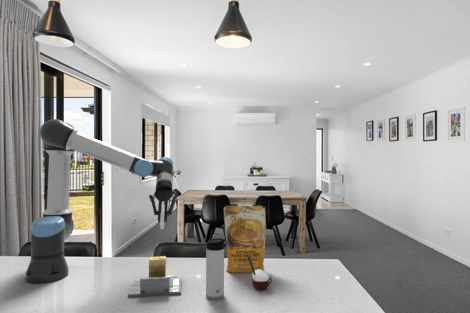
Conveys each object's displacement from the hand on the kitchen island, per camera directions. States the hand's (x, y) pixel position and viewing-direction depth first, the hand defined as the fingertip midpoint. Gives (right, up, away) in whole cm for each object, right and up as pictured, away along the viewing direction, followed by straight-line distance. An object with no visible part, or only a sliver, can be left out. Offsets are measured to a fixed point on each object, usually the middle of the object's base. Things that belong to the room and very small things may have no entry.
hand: (162, 227), depth 132 cm
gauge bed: (+1, -19, -14) cm, 24 cm away
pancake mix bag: (+35, -20, +6) cm, 40 cm away
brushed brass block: (+3, -18, -11) cm, 21 cm away
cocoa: (+40, -20, -13) cm, 46 cm away
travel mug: (+23, -19, -21) cm, 37 cm away
